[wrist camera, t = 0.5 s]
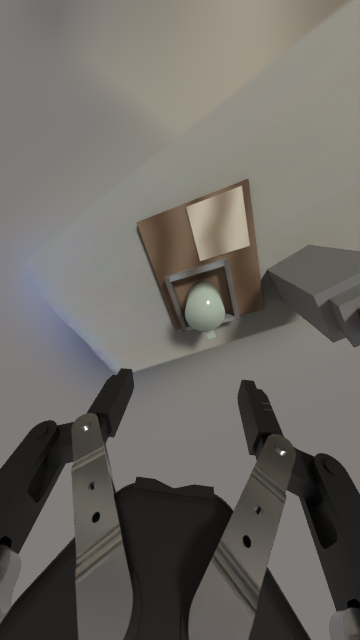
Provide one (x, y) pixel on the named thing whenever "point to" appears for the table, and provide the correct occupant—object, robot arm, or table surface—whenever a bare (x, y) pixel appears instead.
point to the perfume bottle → (323, 289)
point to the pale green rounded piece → (204, 308)
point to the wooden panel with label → (207, 251)
